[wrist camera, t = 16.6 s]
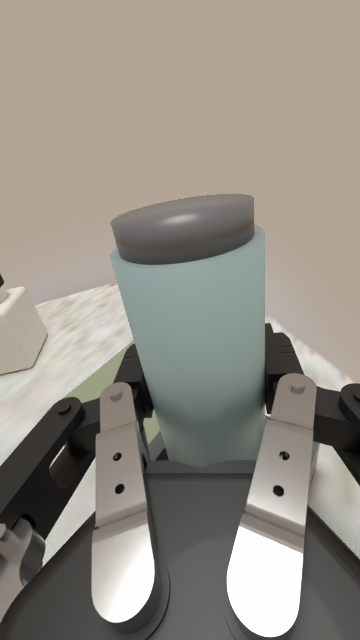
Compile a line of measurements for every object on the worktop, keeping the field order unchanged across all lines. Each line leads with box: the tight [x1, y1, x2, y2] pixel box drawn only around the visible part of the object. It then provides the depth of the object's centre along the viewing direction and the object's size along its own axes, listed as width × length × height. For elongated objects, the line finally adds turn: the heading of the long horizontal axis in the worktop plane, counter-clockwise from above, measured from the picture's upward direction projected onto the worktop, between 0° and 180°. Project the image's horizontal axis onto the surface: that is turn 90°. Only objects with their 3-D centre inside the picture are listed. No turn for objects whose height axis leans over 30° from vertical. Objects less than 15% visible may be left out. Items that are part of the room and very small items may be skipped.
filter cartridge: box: [110, 194, 265, 467], centre depth 13 cm, size 5×5×16 cm
